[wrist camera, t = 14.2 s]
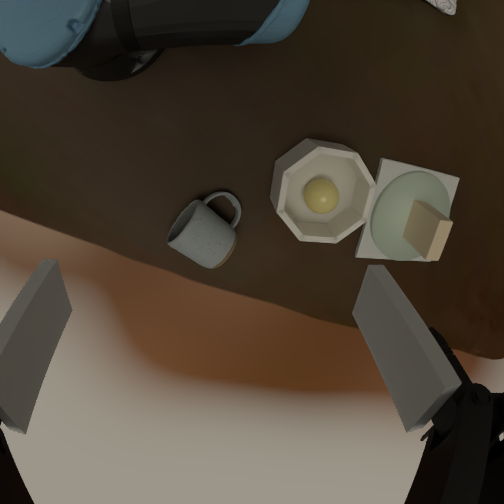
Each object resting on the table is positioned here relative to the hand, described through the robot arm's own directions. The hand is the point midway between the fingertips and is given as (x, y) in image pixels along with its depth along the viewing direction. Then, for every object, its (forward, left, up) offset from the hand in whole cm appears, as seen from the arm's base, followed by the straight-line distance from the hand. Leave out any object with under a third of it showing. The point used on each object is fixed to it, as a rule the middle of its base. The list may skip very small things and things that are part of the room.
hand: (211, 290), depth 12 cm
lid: (+8, +35, -33) cm, 49 cm away
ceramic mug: (+12, 0, -35) cm, 37 cm away
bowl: (+5, +16, -34) cm, 38 cm away
